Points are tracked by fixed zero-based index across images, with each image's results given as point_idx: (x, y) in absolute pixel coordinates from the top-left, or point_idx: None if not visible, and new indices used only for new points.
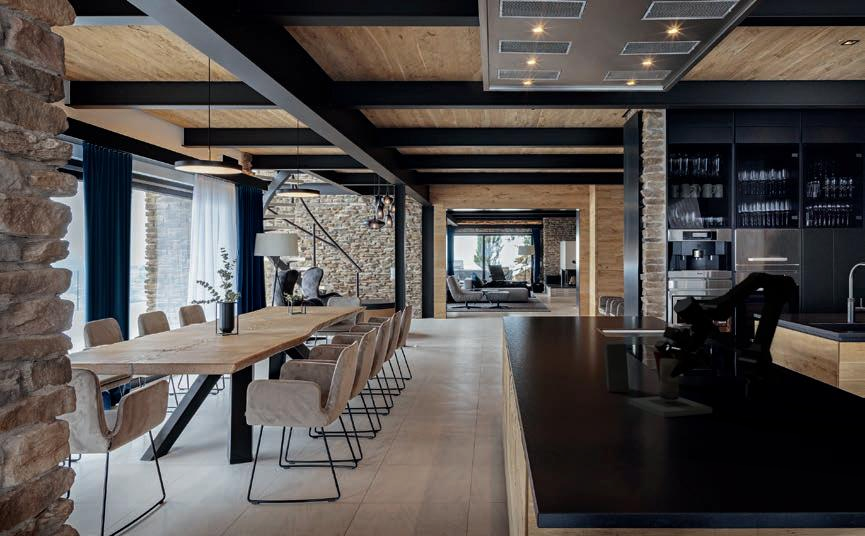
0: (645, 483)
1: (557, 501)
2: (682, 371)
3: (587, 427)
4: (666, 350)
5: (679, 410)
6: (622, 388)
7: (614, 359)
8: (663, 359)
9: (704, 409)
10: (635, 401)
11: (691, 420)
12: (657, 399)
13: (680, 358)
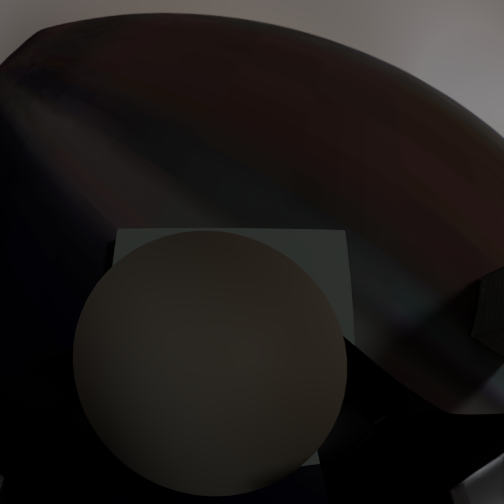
0: (3, 78)
1: (39, 33)
2: None
3: (156, 56)
4: (448, 476)
5: None
6: (482, 313)
7: None
8: (258, 303)
9: None
10: (297, 229)
11: (67, 300)
12: None
13: (25, 417)
